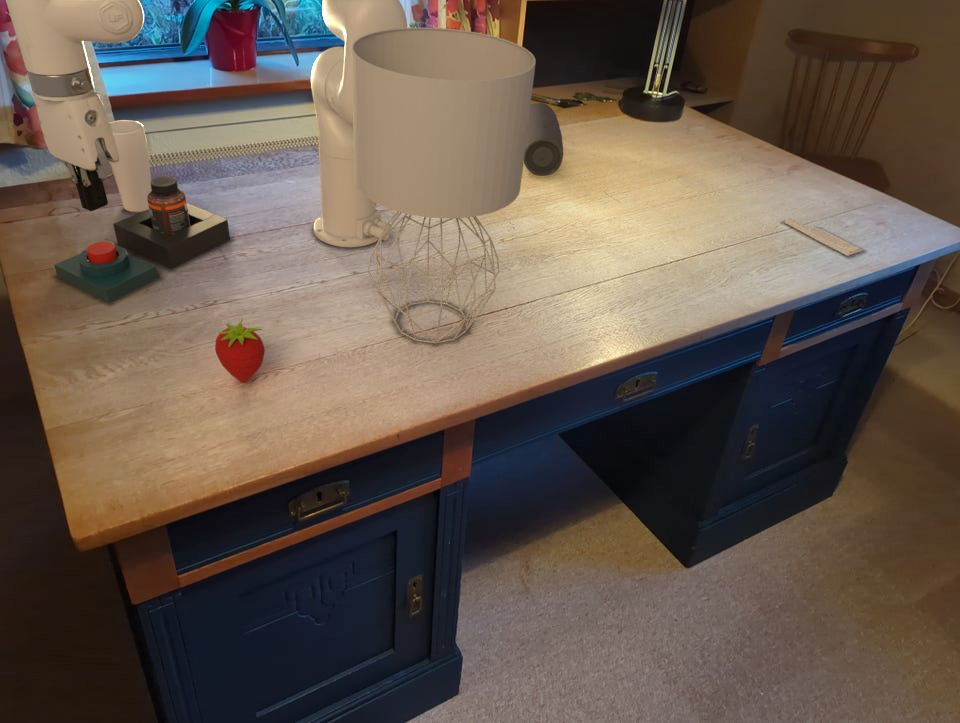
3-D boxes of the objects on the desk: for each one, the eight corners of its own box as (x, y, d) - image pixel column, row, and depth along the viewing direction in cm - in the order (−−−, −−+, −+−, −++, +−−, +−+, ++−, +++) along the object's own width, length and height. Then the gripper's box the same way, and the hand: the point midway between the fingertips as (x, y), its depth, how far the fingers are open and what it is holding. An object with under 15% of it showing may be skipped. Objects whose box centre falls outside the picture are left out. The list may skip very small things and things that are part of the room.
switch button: (123, 256, 118) (120, 246, 117) (100, 267, 115) (98, 257, 114) (105, 248, 119) (103, 238, 118) (83, 258, 117) (80, 248, 116)
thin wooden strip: (800, 218, 158) (802, 213, 157) (862, 251, 148) (864, 246, 147) (784, 222, 155) (786, 217, 155) (846, 256, 146) (849, 251, 145)
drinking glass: (146, 218, 136) (129, 136, 127) (111, 211, 137) (92, 130, 127) (166, 202, 141) (151, 123, 132) (132, 196, 142) (115, 117, 133)
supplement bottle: (200, 239, 131) (190, 177, 125) (178, 254, 127) (167, 191, 120) (171, 231, 133) (159, 170, 126) (148, 246, 128) (135, 183, 121)
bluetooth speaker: (561, 183, 162) (568, 138, 156) (518, 180, 162) (523, 134, 156) (555, 144, 180) (561, 101, 174) (516, 140, 180) (520, 98, 174)
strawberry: (253, 359, 106) (245, 299, 100) (277, 388, 101) (270, 327, 95) (211, 373, 103) (201, 311, 97) (234, 403, 98) (225, 341, 92)
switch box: (158, 278, 120) (153, 256, 118) (109, 303, 114) (103, 280, 112) (107, 254, 125) (102, 233, 122) (57, 277, 118) (50, 254, 116)
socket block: (230, 240, 132) (227, 219, 129) (171, 269, 123) (167, 247, 120) (178, 218, 137) (174, 197, 134) (117, 245, 128) (112, 223, 125)
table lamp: (383, 379, 105) (384, 85, 81) (340, 295, 121) (330, 29, 97) (527, 350, 113) (568, 76, 89) (469, 275, 129) (490, 25, 105)
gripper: (123, 86, 101) (151, 211, 112) (51, 63, 107) (84, 184, 118) (73, 101, 96) (107, 231, 107) (0, 75, 102) (40, 201, 113)
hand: (95, 206), depth 113 cm, fingers closed
